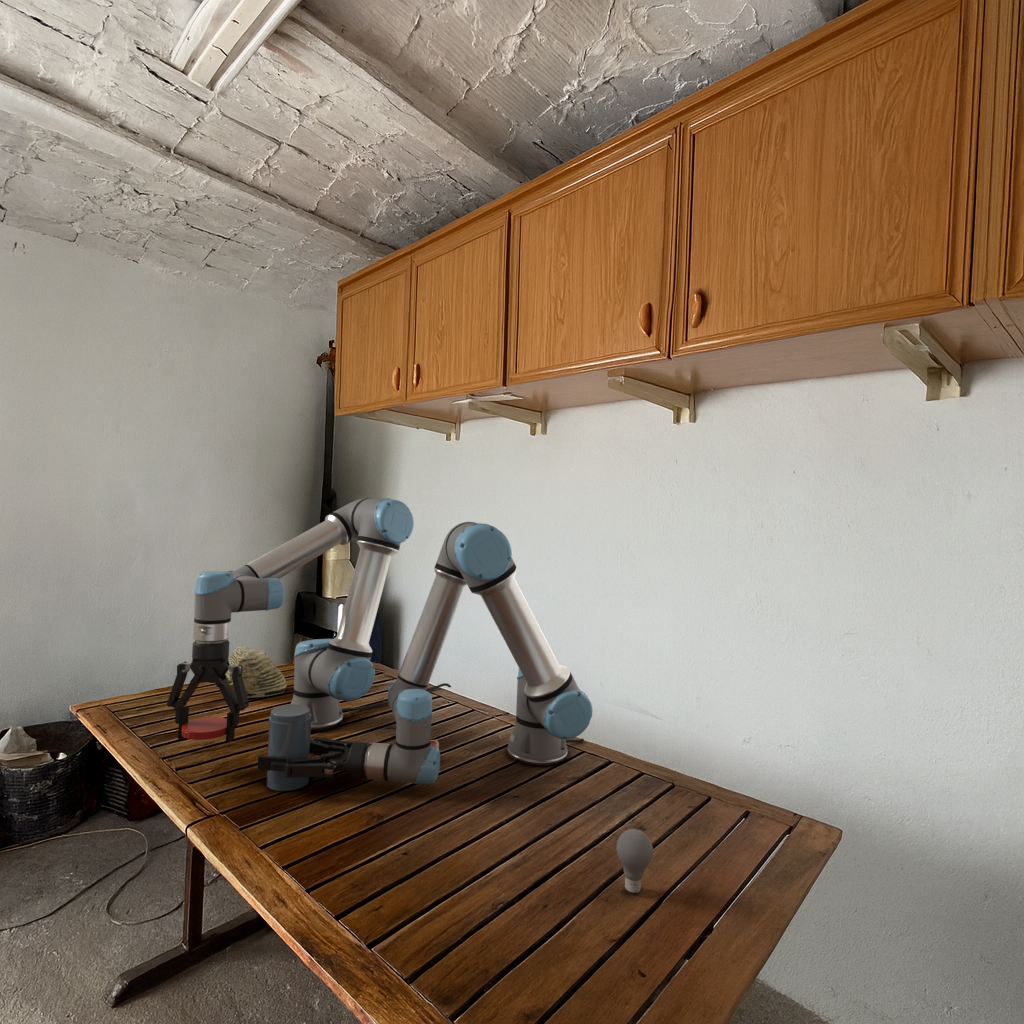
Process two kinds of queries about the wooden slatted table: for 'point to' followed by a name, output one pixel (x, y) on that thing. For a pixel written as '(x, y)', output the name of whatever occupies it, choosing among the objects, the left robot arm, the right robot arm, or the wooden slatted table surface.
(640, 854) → the light bulb
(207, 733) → the lid
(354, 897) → the wooden slatted table surface
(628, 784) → the wooden slatted table surface
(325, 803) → the wooden slatted table surface
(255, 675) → the fossil
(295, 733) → the jar
